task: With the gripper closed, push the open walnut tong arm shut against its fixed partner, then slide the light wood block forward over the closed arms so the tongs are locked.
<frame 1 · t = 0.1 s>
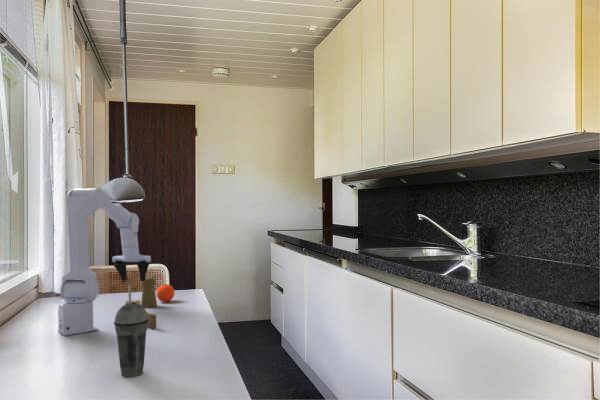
hand: (133, 280, 176), 11 cm above the table, fingers open, 7 cm apart
cork: (148, 307, 179), on the table
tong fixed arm: (132, 322, 154), on the table
light wood block: (133, 310, 156), point 3 cm above the table, slide at 0.0 cm
clementine: (165, 302, 189), on the table
beverage cup: (132, 374, 105), on the table
tong arm: (144, 318, 149), point 2 cm above the table, hinge at 25.0°
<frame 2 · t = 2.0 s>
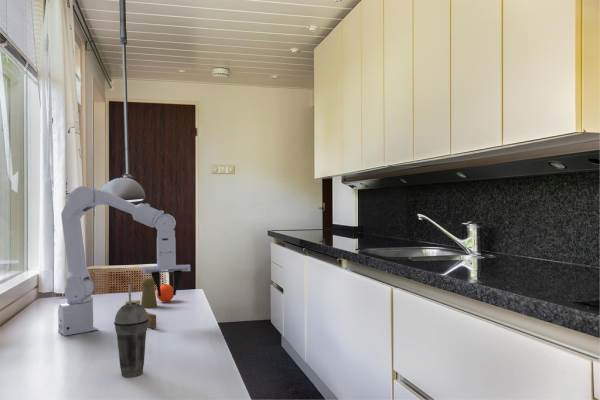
hand: (167, 295, 149), 9 cm above the table, fingers open, 4 cm apart
nothing on the table moved.
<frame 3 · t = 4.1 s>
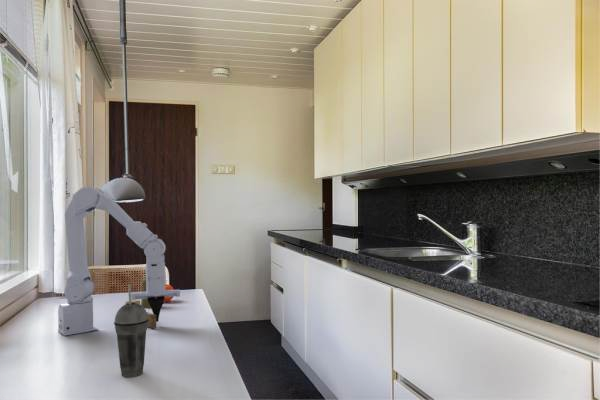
hand: (156, 321, 148), 2 cm above the table, fingers closed
tong arm: (144, 318, 149), point 2 cm above the table, hinge at 25.0°, touching gripper
everything else where it was.
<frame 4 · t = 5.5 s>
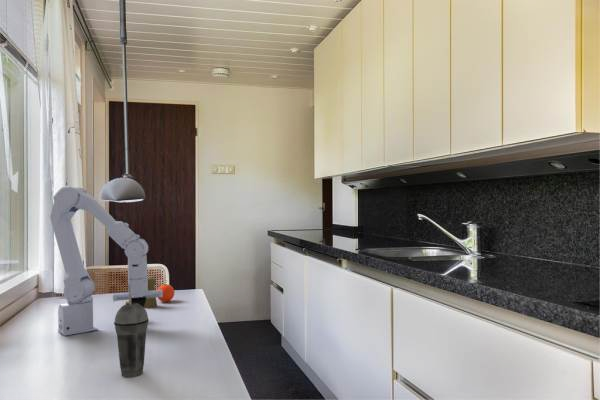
hand: (139, 322, 146), 2 cm above the table, fingers closed
tong arm: (134, 319, 147), point 2 cm above the table, hinge at -0.6°, touching gripper
everything else where it was.
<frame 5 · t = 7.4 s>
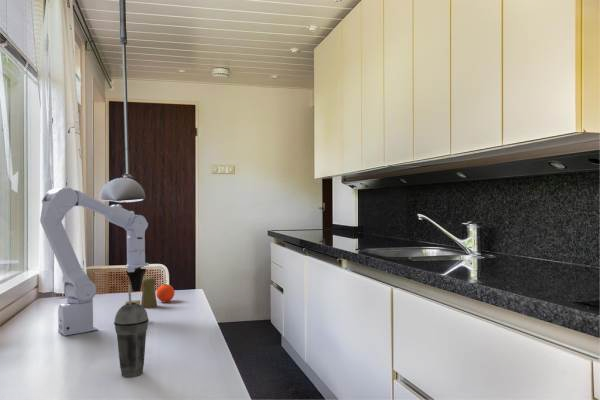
hand: (136, 291, 158), 9 cm above the table, fingers closed
tong arm: (134, 319, 147), point 2 cm above the table, hinge at -0.7°
everything else where it was.
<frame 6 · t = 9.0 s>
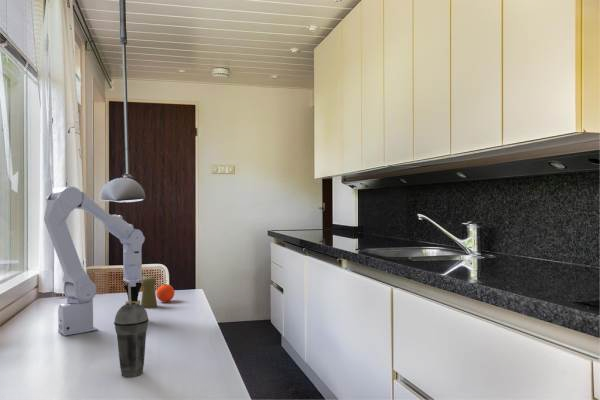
hand: (133, 305, 158), 5 cm above the table, fingers closed
light wood block: (133, 310, 156), point 3 cm above the table, slide at 0.2 cm, touching gripper
everything else where it was.
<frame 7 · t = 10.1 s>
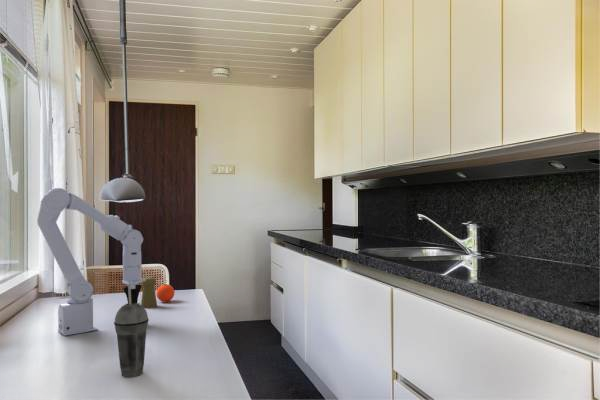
hand: (132, 308, 153), 5 cm above the table, fingers closed
light wood block: (132, 313, 151), point 3 cm above the table, slide at 5.1 cm, touching gripper
everything else where it was.
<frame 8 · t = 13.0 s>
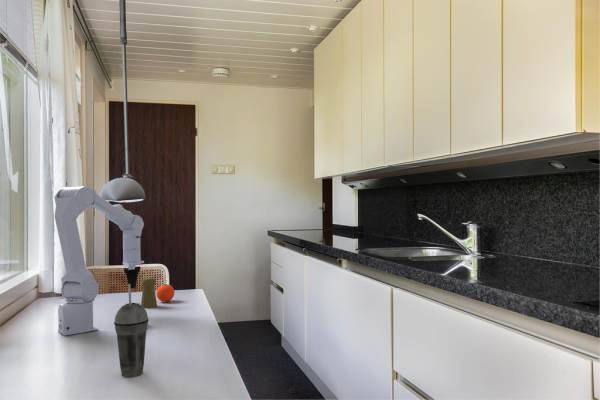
hand: (132, 288, 165), 9 cm above the table, fingers closed
light wood block: (132, 313, 151), point 3 cm above the table, slide at 5.2 cm
everything else where it was.
at the end: tong arm at -1° (first picture: +25°); light wood block slide at 5.2 cm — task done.
